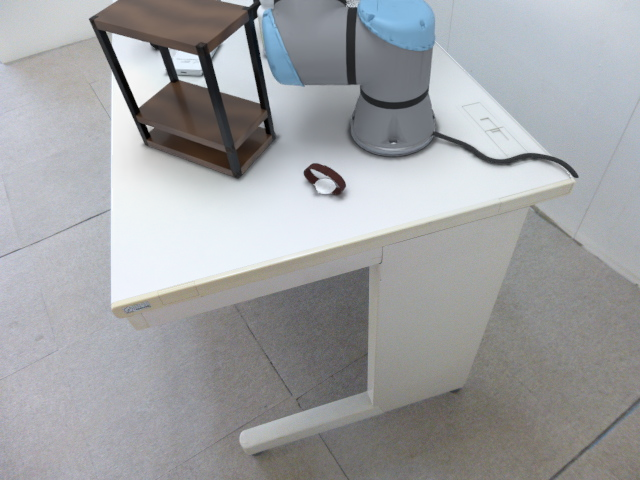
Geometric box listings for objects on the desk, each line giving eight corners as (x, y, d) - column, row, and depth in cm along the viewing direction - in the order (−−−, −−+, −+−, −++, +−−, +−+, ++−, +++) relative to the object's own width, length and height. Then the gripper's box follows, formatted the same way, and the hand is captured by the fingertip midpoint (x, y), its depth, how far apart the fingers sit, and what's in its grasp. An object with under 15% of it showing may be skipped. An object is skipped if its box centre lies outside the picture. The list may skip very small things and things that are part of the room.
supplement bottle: (299, 52, 111) (292, -6, 101) (274, 63, 109) (264, 4, 99) (283, 40, 115) (275, -17, 105) (259, 51, 113) (248, -7, 103)
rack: (184, 108, 101) (142, -16, 82) (275, 137, 93) (251, 7, 74) (144, 144, 95) (88, 18, 76) (238, 178, 87) (201, 47, 68)
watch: (314, 171, 86) (302, 187, 85) (307, 155, 82) (294, 172, 81) (351, 189, 83) (338, 206, 82) (345, 173, 79) (332, 190, 78)
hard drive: (220, 45, 116) (201, 76, 108) (187, 44, 117) (166, 74, 110) (218, 38, 114) (200, 69, 107) (185, 37, 116) (164, 67, 108)
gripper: (369, 6, 115) (324, 53, 104) (278, -11, 124) (228, 30, 113) (369, -28, 110) (321, 17, 99) (274, -43, 119) (220, -3, 108)
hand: (271, 24), depth 106 cm, fingers open, 13 cm apart
